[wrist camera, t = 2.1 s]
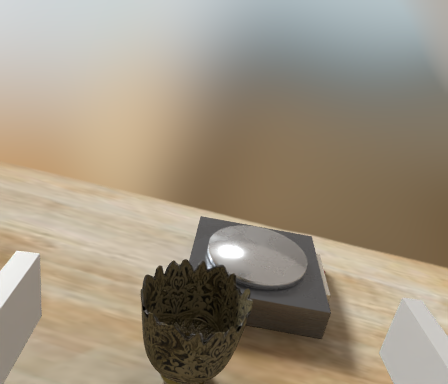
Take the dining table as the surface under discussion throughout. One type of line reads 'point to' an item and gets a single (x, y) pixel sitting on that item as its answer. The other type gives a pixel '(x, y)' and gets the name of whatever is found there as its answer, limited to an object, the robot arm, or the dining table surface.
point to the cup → (192, 320)
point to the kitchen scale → (269, 273)
